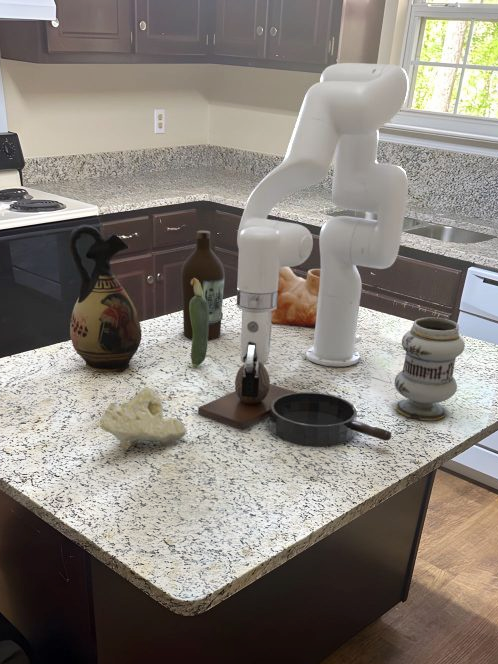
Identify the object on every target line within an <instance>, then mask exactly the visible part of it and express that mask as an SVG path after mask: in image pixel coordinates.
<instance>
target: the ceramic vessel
mask: <svg viewBox="0 0 498 664" xmlns="http://www.w3.org/2000/svg"><path fill="white" fill-rule="evenodd" d="M320 271H321V268H311V269H309V270H308V271H307V274H306V279H305V278H303V277H300V276H297V274H295V273H294V271H293V270H292V268H291V267H280V268H279V280H278V295H277V308H276V309H275V310H273V311H271V324H273V325H285V326H286V325H287V326H296V327H303V328H304V327H305V328H312V329H315V326H316V316H317V305H318V295H319V285H320Z"/></svg>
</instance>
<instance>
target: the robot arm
mask: <svg viewBox="0 0 498 664" xmlns="http://www.w3.org/2000/svg"><path fill="white" fill-rule="evenodd" d="M408 92H409V78H408V75H407V72H406V70H405V69H404V68H403V67H402V66H400V65H398V64H391V63H389V64H388V63H364V62H363V63H362V62H341V63H334V64H331V65H329V66H327V67H326V68H325V69H324V70H323V71H322V73H321V75H320V79H319V82H316V83H314V84H312V85H311V86H310V87H309V88H308V90H307V91H306V94H305V96H304V98H303V101H302V104H301V107H300V110H299V114H298V117H297V119H296V122H295V125H294V129H293V132H292V135H291V137H290V140H289V141H290V142H289V143H288V147H287V150H286V153H285V156H284V159H283V160H282V161H281V163H280V164H279V165H277V166H275V168H273V170H272V169H271V171H270V172H269V173H268V174H267V175H266V176H265V177H264V178H263V179H262V180H261V181H260V182H259V183H258V184H257V185H256V187H255V188H254V189H253V190H252V192H251V193H250V195H249V197H248V199H247V202H246V204H245V206H244V209H243V213H242V216H241V219H240V222H239V226H238V230H237V236H236V237H237V238H236V245H237V248H238V260H237V285H236V308H237V309H239V310H241V312H242V313H241V327H240V328H241V332H240V361H241V362H242V363H243V364H244V371H243V376H242V396H243V397H255V398H257V397H258V390H259V377H258V369H259V363H262V364H263V365H265V364H266V363H267V362H268V359H269V356H270V352H271V337H272V336H271V335H272V323H271V311H273V310H275V309H276V308H277V295H278V280H279V268H280V267H289V268H294V267H297V266H300V265H302V264H303V263H305V262H306V261H307V260H308V259H309V258H310V256H311V253H312V250H313V248H314V247H313V246H314V240H313V236H312V233H311V231H310V230H309V229H308V228H307V227H306V226H304V225H302V224H299V223H295V222H288V221H281V220H276V219H269V218H268V217H269V215H270V213H271V211H272V210H273V208H274V207H275V206H276V205H277V204H278V203H279V202H281V201H282V200H283V199H284V198H286V197H288V196H290V195H293V194H294V193H297V192H300V191H302V190H305V189H307V188H310V187H313V186H315V185H318V184H320V183H321V182H322V181H325V179H326V178H327V176H328V173H329V171H330V167H331V164H332V162H333V158H334V163H333V173H332V180H331V181H332V182H331V199H332V202H333V204H334V206H336V207H337V208H340V209H343V210H347V211H353V212H361V213H368V214H375V215H376V219H370V218H369V219H368V218H364V217H358V216H357V217H356V216H350V215H349V216H348V215H338V216H333V217H330V218H329V219H327V220H326V221H325V222H324V223H323V225H322V226H321V229H320V232H319V237H318V238H319V240H318V242H319V243H318V244H319V257H320V258H319V259H320V269H321V271H320V285H319V295H318V305H317V316H316V326H315V328H314V337H313V346H312V347H309V348H308V349H307V350H306V353H305V357H306V359H307V360H309V361H310V362H312V363H314V364H317V365H320V366H326V367H335V368H336V367H337V368H338V367H340V368H341V367H349V366H353V365H356V364H357V363H358V362H360V357H361V356H360V353H358V352H357V351H356V350H355V346H356V345H357V344H359V343H361V342H362V337H361V335H359V334H357V328H358V327H357V326H358V319H359V312H360V305H361V296H362V289H363V287H362V286H363V283H362V282H363V281H362V278H361V275H360V273H359V270H358V268H357V266H358V267H365V268H371V269H377V270H384V269H388V268H390V267H392V265H393V264H394V263H395V262H396V260H397V257H398V254H399V251H400V247H401V246H400V245H401V241H402V236H403V235H402V234H403V228H404V222H405V221H404V220H405V214H406V209H407V208H406V207H407V202H408V193H409V180H408V174H407V172H406V171H405V170H404V169H403V167H401V166H399V165H396V164H391V163H380V162H378V161H377V157H378V147H379V146H378V144H379V138H380V136H379V130H380V129H381V128H382V127H383V126H384V125H386V124H387V123H388V122H390V121H391V120H392V119H394V118H395V117H396V116H397V115H398V114H399V112H400V111H401V110H402V108H403V106H404V105H405V102H406V99H407V97H408ZM356 334H357V335H356ZM254 359H257V361H254ZM253 365H256V367H253Z"/></svg>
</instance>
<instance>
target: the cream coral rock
mask: <svg viewBox="0 0 498 664" xmlns="http://www.w3.org/2000/svg"><path fill="white" fill-rule="evenodd" d="M116 401H117V398H115V399H114V401H113V402H111V403H109V406H107V408H106V409H105V410H104V412H103V414H102V417H101V418H100V420H99V423H100V425H99V427H100V428H101V429H102V430H103V431H105V432H106V433H107V432H108V433H110V434H112V435H113V436H114V437H115V438H116V439H117V440H118V441H119V443H120V446H121V447H122V448H123V450H124V451H127V450H128V449H129V448H130V446H131V445H133V444H134V443H137V444H138V443H139V442H142V441H149V442H153V443H155V444H160V445H163V444H166V443H169V442H174V441H180V440H181V439H183V438H184V437H185V435H186V432H187V428H186V427H185V425H184V423H182V422H181V421H179V419H177V417H172V416H170V417H167V418H164V414H163V413H164V405H163V404H164V403H163V400H162V399H161V397H159V395H158V394H157V392H156V391H155V390H154V389H153V388H150V387H147V386H145V387H142V389H140V390H139V391H138V393H137V394H136V395H135V396H134V397H132V398H130V400H129V402H127V403H124V404H123V405H121V406H119V404H117V402H116Z"/></svg>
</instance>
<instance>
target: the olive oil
mask: <svg viewBox="0 0 498 664" xmlns="http://www.w3.org/2000/svg"><path fill="white" fill-rule="evenodd" d="M196 235H197V236H196V248H195V249H194V250H193V251H192V252H191V254H189V256H188V257H187V258H186V259H185V260H184V262H183V264H182V267H181V271H180V273H181V275H180V277H181V278H180V279H181V296H182V317H183V320H182V321H183V323H182V324H183V325H182V326H183V335H184V337H185V338H188V339H191V340H192V338H193V330H192V326H191V320H190V313H189V304H190V300H191V299H192V298H193V297H194V296H195V293H194V282H193V285H191V280H192V279H193V278H196V279H197V280H199V283H200V284H201V287H202V290H203V297H205V299H206V300H207V302H208V306H209V332H208V341H211V340H215V339H218V338H219V337H220V336H221V331H222V330H221V328H222V321H223V318H224V317H223V316H224V313H223V301H224V300H223V299H224V289H225V278H226V276H225V268H224V265H223V262H222V261H221V260H220V258H219V257H218V256H217V255H216V254H215V252H214V251H213V249H212V248H211V243H212V241H211V239H212V238H211V231H209V230H198V231H196Z"/></svg>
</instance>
